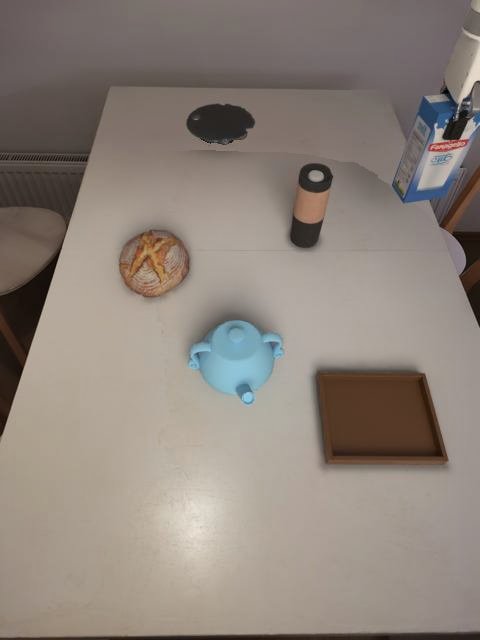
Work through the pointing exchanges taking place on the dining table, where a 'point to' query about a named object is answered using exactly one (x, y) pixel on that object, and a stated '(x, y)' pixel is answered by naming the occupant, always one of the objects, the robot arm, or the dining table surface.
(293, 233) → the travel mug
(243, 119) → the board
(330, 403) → the tray
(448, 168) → the milk carton
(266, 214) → the dining table surface
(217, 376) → the teapot
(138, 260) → the bread
